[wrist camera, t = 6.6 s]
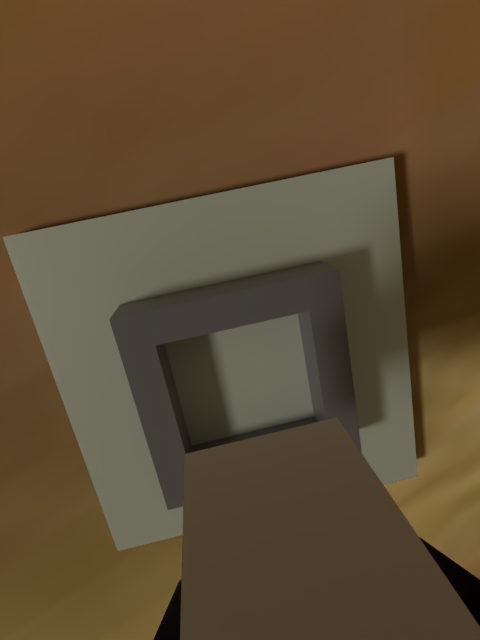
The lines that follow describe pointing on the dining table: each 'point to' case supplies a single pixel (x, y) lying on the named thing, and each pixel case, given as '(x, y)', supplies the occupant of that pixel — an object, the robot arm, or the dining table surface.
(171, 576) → the dining table surface
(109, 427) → the end holder
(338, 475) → the connector plug
